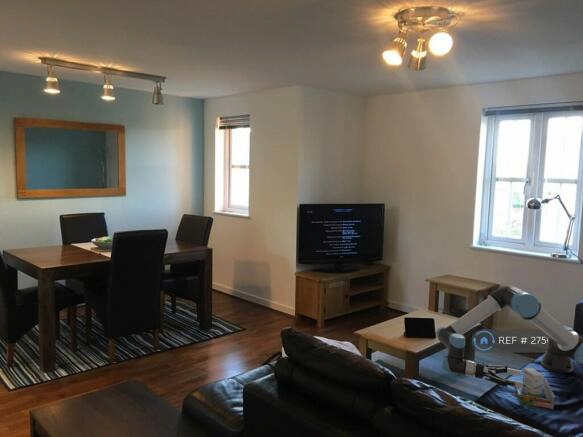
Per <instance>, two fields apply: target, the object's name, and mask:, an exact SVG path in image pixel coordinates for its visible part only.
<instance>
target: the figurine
mask: <svg viewBox="0 0 583 437" xmlns="http://www.w3.org/2000/svg"><path fill="white" fill-rule="evenodd" d="M509 395H510V396H513V397H515V398H517V399H518V398H519V399H520V403H519V408H521V409H523V408H524V405H526V408H527V409H528V410H529V411H531V408H530V407H531V406H533V405H534V404H535V401H536V402H538V400H537V398H536V397H534V396H533V395H531V396H532V398H533V397H534V398H533V399H532V400H531V399H530V398H529V397H530V395H529V397H528V396H525V395H526V394H525V393H524V390H523V393H522V394H519V395H517V394H515V393H509ZM519 399H518V400H519ZM534 407H536V406H535V405H534Z"/></svg>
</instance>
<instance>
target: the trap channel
mask: <svg viewBox="0 0 583 437" xmlns="http://www.w3.org/2000/svg"><path fill="white" fill-rule="evenodd" d="M514 389H515V392H517V393H516V395H519V394H521V390H520V388H518V387H514ZM542 393H543V394H544V396H545V398H542V397H541V398H537V397H536V398H537V400H538V402H536V401H535V404H534V405H535V406H534V407H537V408H539V407H540V408H544V409H550V410H554V406H555V401H556V400H555V399H556V396H555V394H554V392H553V389H552V387H551V386H550V383H549V380H548V379H547V378H544V380H543V388H542ZM521 395H522V394H521ZM525 396H527V395H526V394H525ZM528 397H529V396H528ZM529 398H530V399H531V400H532V399H533V398H534V397H533V398H532V396H530V397H529ZM517 400H518V402H520V399H519V398H517Z"/></svg>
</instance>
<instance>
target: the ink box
mask: <svg viewBox="0 0 583 437" xmlns="http://www.w3.org/2000/svg"><path fill="white" fill-rule="evenodd" d="M544 379H545V375H543V374H541V373H540V372H538V371H537V370H536V369H534V368H527V367H526V368H524V369H523V376H522V382H523V388H521V390H520V392H523V390H524V393H525V395H528V396H529V395H530V396H531V395H533V396H534V397H537V398H542V395H543V386H544Z"/></svg>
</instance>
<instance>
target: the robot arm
mask: <svg viewBox="0 0 583 437" xmlns="http://www.w3.org/2000/svg"><path fill="white" fill-rule="evenodd" d="M505 308H507V309H509V310H510V311H512V312H514V313H515V314H516V315H517V316H519V317H520V318H521V319H523V321H530V322H531V323H532V324H533V325H535V326H536V327H537V328H538V329H540V330H541V331H542V332H543V333H545V334H546V335H547V336H548V337H547V341H546V342H547V344H546V351H545V353H544V354H543V357H542V358H541V361H540V364H541V366H542V367H544V368H545V369H547V370H549V371H553V372H556V373H560V374H569V373H572V372H573V368H574V367H573V362H572V360H574V361H575V362H576V363H579V364H583V336H581V335H579V333H578V332H576V331H575V329H574V328H572V327H569V326H565V325H563V324H561V323H560V321H558V320H557V319H555V318H554V317H553V316H552V315H551V314H549V313H548V312H547V311H546V310H545V309H543V308H542V304H541V303H540V301H539V300H538V298H537V297H535V295H534V294H532V293H530V292H527V291H525V290H523V289H522V288H519V287H517V286H515V285H506V286H505V285H504V286H502V287H500V288H498V289H496V290H494V291H492V292H490V294H488V295H487V298H486V299H485V300H483V301H482V302H480V303H479V304H478V305H476V306H475V307H473V308H472V309H471V310H469V311H467V313H465V314H463V315H462V316H461V317H459V318H457V319H456V320H455V321H453V322H452V323H451V324H449V325H447V326H446V327H445V326H441V327H438V328H437V330H436V333H435V336H436V338H437V339H438V341H439V342H440V343H442V344H443V346H444V347H446V348H447V349H448V352H447V355H444V356H443V359H442V370H443V371H445V372H449V373H451V374H452V373H453V374H457V375H461V376H462V375H463V376H467V377H470V378H471V377H472V378H473V377H475V378H476V379H480V380H483V379H484V380H485V381H488V382H489V381H490V382H492V383H494V384H497V385H500V386H502V387H504V388H508V386H509V387H514V388H515V387H518V388H519V389H522V388H523V381H519V380H513V379H508V378H507V379H506V378H504V377H502V376H501V375H498V374H506V375H510V376H516V377H522V370H520V369H515V368H514V369H513V368H510V367H509V368H508V365H499V364H498V365H497V364H496V365H495V364H494V365H493V364H487V363H486V364H485V363H483V362H478V361H477V362H476V361H474V360H469V359H464V355H465V349H466V348H465V347H466V337H465V336H464V335H465V333H467V332H468V331H470V330H471V329H473V328H474V327H475V326H477V325H478V324H479V323H481V322H482V321H484V320H485V319H487V318H488V317H489V316H491V315H493V314H494V313H495V312H497V311H502V310H503V309H505Z"/></svg>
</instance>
